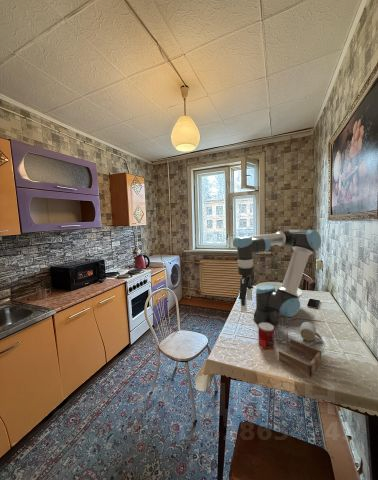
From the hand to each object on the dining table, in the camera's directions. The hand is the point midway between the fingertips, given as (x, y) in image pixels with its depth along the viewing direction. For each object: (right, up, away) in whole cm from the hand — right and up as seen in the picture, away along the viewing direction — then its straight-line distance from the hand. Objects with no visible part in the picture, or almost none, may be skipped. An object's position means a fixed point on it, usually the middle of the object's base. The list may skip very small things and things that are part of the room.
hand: (246, 305), depth 108 cm
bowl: (+36, -16, +45) cm, 60 cm away
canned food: (+11, -22, +2) cm, 25 cm away
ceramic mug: (+38, -21, +6) cm, 43 cm away
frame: (+22, -23, -11) cm, 34 cm away
